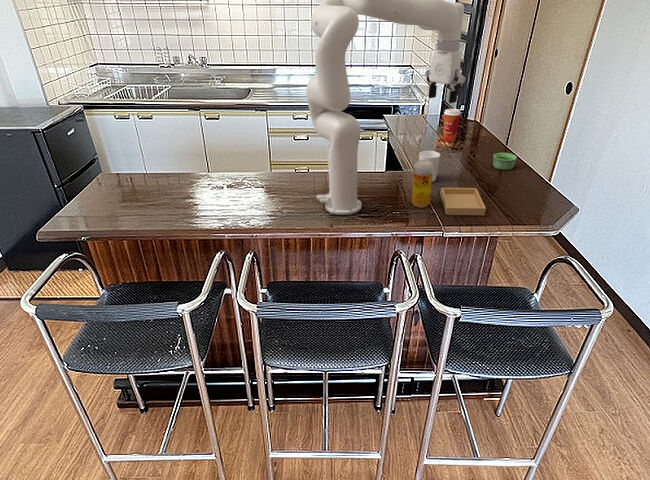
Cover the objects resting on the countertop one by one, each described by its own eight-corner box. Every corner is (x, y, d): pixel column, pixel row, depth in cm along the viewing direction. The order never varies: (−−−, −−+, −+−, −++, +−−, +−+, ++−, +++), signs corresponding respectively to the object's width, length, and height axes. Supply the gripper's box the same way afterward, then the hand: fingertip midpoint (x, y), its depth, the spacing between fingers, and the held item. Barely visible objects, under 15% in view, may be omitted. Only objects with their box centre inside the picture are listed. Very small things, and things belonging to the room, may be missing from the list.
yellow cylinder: (415, 209, 148) (419, 167, 140) (408, 202, 153) (411, 160, 145) (432, 206, 149) (436, 164, 141) (424, 199, 154) (428, 158, 146)
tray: (446, 214, 144) (447, 207, 143) (440, 194, 158) (441, 187, 156) (484, 215, 143) (485, 208, 142) (475, 194, 157) (476, 188, 155)
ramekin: (517, 170, 175) (520, 159, 173) (495, 170, 175) (497, 160, 173) (510, 162, 183) (512, 152, 180) (489, 163, 183) (490, 152, 180)
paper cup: (438, 138, 212) (441, 109, 204) (452, 137, 214) (455, 107, 206) (446, 143, 206) (449, 113, 198) (460, 141, 207) (464, 111, 200)
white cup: (436, 175, 173) (439, 150, 167) (438, 183, 166) (441, 157, 161) (416, 175, 174) (418, 150, 168) (417, 182, 167) (419, 157, 162)
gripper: (421, 44, 148) (417, 97, 158) (460, 49, 136) (453, 106, 146) (436, 42, 152) (431, 94, 161) (476, 47, 140) (468, 102, 149)
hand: (442, 100), depth 153 cm, fingers open, 9 cm apart
